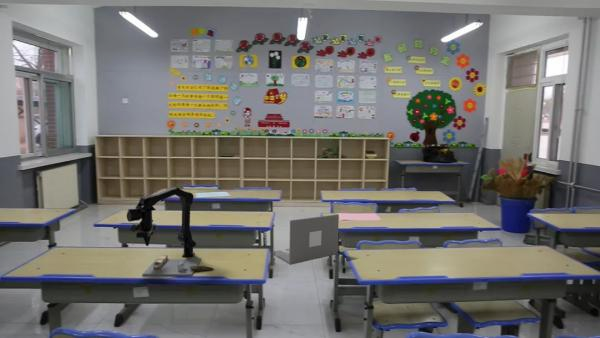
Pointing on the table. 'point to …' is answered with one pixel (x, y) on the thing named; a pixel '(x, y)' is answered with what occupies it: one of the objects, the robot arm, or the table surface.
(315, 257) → the laptop
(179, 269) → the keeper
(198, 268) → the stone
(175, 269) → the pivot board
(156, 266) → the link
